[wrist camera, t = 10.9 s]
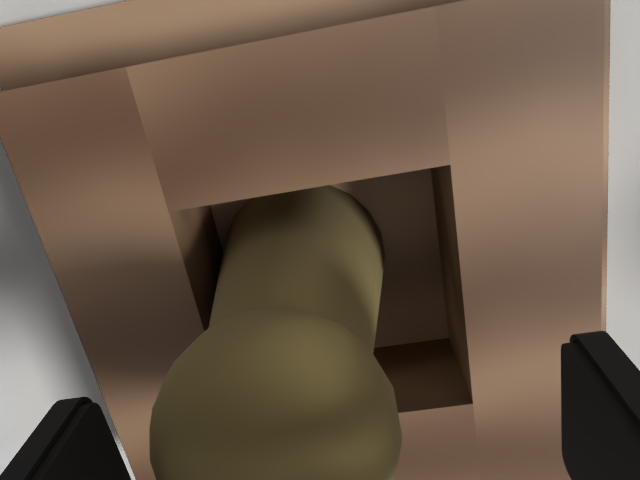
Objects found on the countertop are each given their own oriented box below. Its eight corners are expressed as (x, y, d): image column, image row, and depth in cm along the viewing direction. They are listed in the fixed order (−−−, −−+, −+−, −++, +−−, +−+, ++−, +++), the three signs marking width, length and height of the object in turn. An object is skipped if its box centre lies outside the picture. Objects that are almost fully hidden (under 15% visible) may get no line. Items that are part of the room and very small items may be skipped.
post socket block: (-2, 31, 18) (-120, 30, 13) (596, -93, 16) (699, -146, 12) (162, 473, 25) (122, 572, 20) (593, 423, 23) (657, 520, 18)
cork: (385, 177, 18) (442, 351, 8) (385, 326, 21) (430, 612, 10) (215, 183, 19) (66, 358, 8) (233, 329, 21) (131, 610, 11)
